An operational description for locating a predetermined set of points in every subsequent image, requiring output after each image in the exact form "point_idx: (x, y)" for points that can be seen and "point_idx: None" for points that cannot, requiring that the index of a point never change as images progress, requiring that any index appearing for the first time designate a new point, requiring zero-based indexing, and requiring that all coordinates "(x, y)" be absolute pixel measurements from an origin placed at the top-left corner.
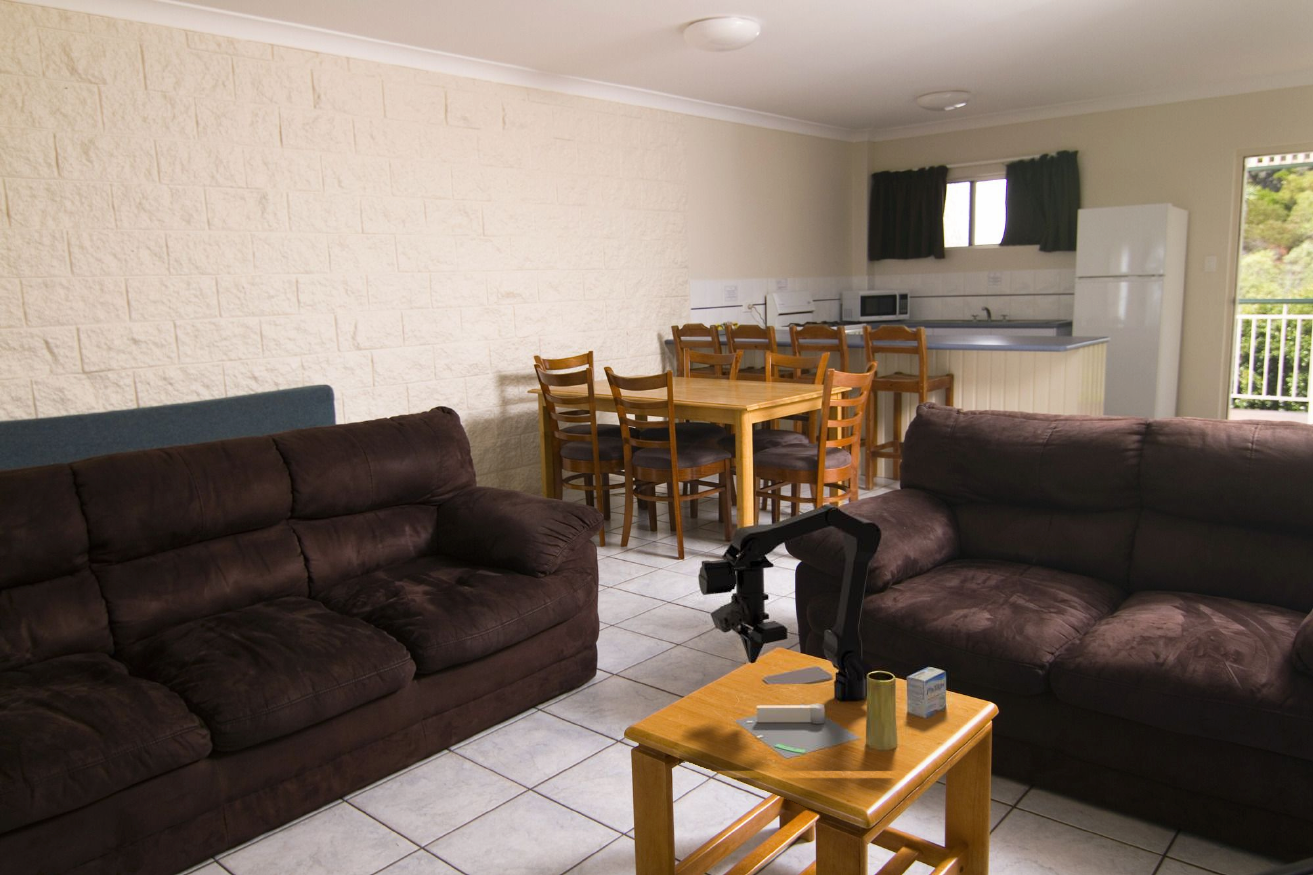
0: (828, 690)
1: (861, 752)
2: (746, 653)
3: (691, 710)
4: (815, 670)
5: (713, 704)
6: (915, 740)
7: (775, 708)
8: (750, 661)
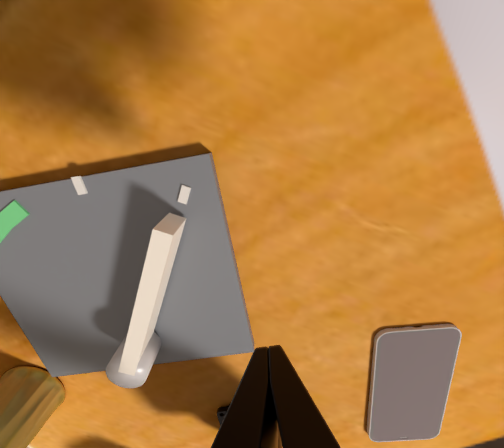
0: (318, 409)
1: (18, 353)
2: (298, 389)
3: (376, 48)
4: (418, 427)
5: (381, 143)
6: (62, 435)
7: (141, 279)
8: (255, 354)
